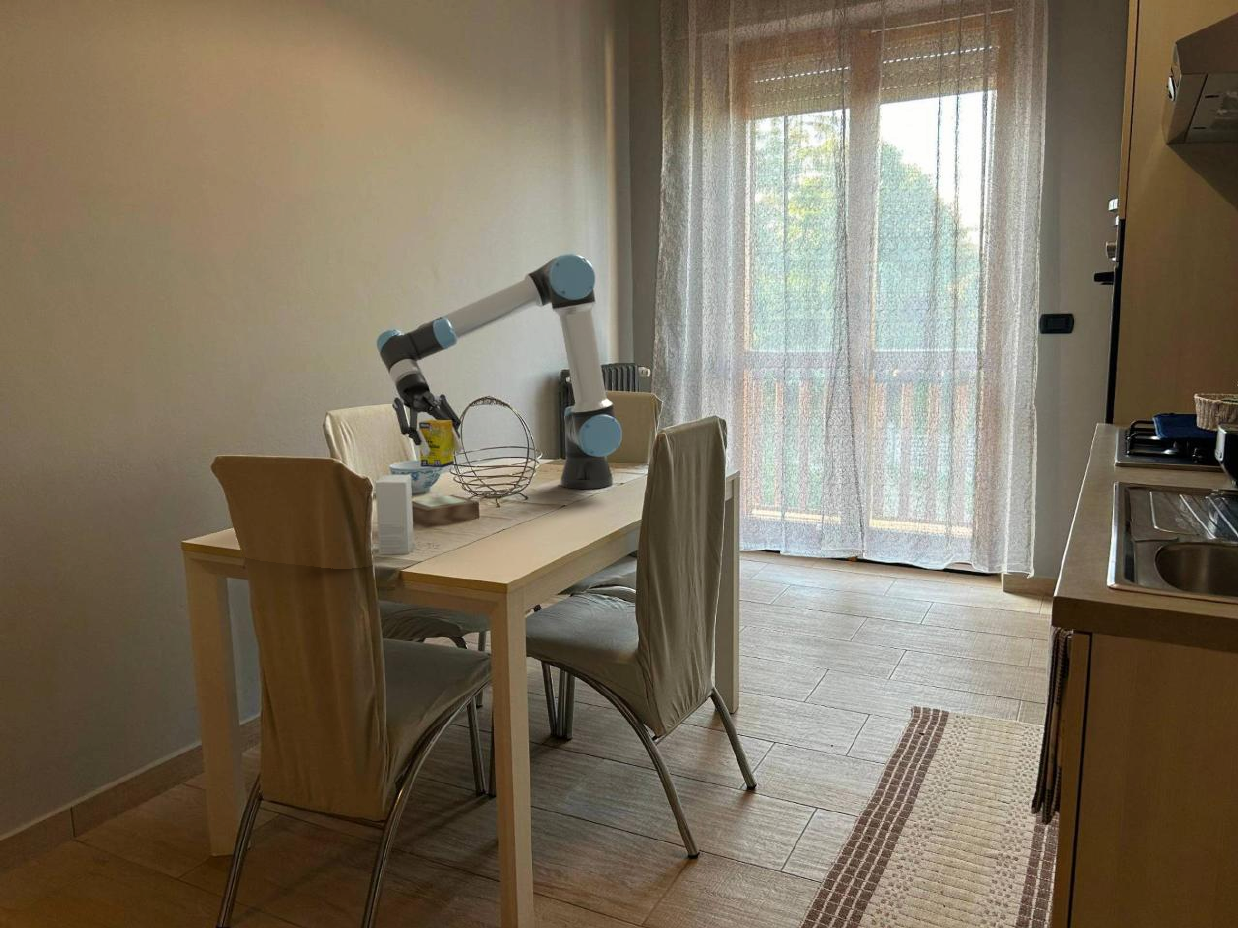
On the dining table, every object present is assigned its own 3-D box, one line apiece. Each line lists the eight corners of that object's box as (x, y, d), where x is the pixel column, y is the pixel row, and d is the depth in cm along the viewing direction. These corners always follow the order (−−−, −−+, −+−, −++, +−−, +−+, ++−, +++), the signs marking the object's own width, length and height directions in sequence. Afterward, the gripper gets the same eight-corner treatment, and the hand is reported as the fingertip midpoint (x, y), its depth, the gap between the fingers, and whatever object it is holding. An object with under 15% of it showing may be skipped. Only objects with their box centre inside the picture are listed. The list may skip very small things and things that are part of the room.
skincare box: (385, 545, 199) (381, 474, 197) (416, 544, 199) (412, 473, 197) (378, 555, 191) (373, 481, 188) (410, 554, 191) (406, 480, 189)
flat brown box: (453, 510, 235) (452, 493, 234) (479, 517, 225) (478, 500, 224) (402, 518, 226) (401, 501, 226) (427, 526, 216) (426, 509, 216)
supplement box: (420, 467, 222) (417, 421, 220) (433, 463, 228) (430, 419, 226) (442, 467, 220) (439, 422, 218) (454, 464, 226) (452, 419, 224)
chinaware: (403, 498, 253) (402, 470, 251) (382, 490, 265) (380, 464, 263) (453, 491, 261) (452, 464, 260) (430, 484, 273) (429, 458, 272)
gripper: (442, 389, 239) (476, 457, 230) (366, 394, 227) (399, 466, 217) (451, 369, 235) (486, 438, 225) (374, 374, 222) (408, 446, 212)
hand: (443, 452), depth 221 cm, fingers closed on supplement box, 8 cm apart
